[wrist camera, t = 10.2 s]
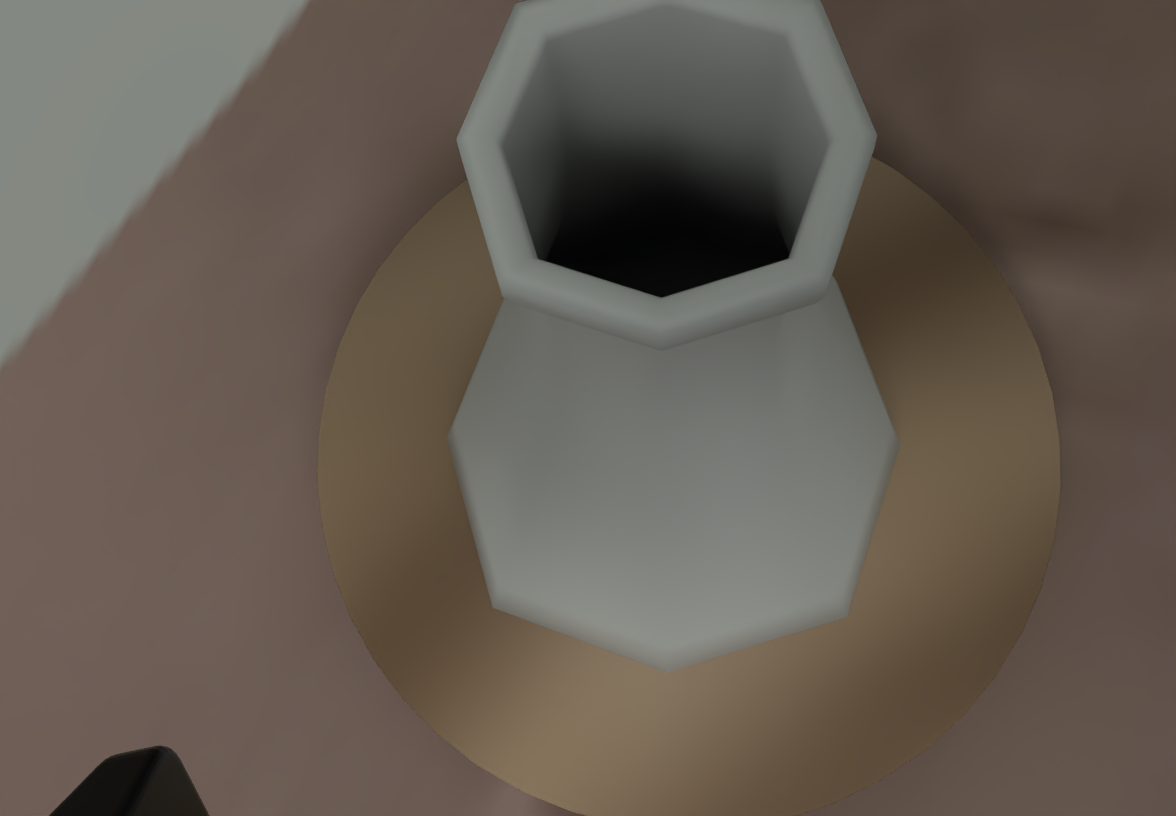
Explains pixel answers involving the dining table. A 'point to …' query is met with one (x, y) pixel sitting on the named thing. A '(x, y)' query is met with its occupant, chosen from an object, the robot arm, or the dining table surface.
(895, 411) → the brass disc
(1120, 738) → the dining table surface
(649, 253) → the flask
